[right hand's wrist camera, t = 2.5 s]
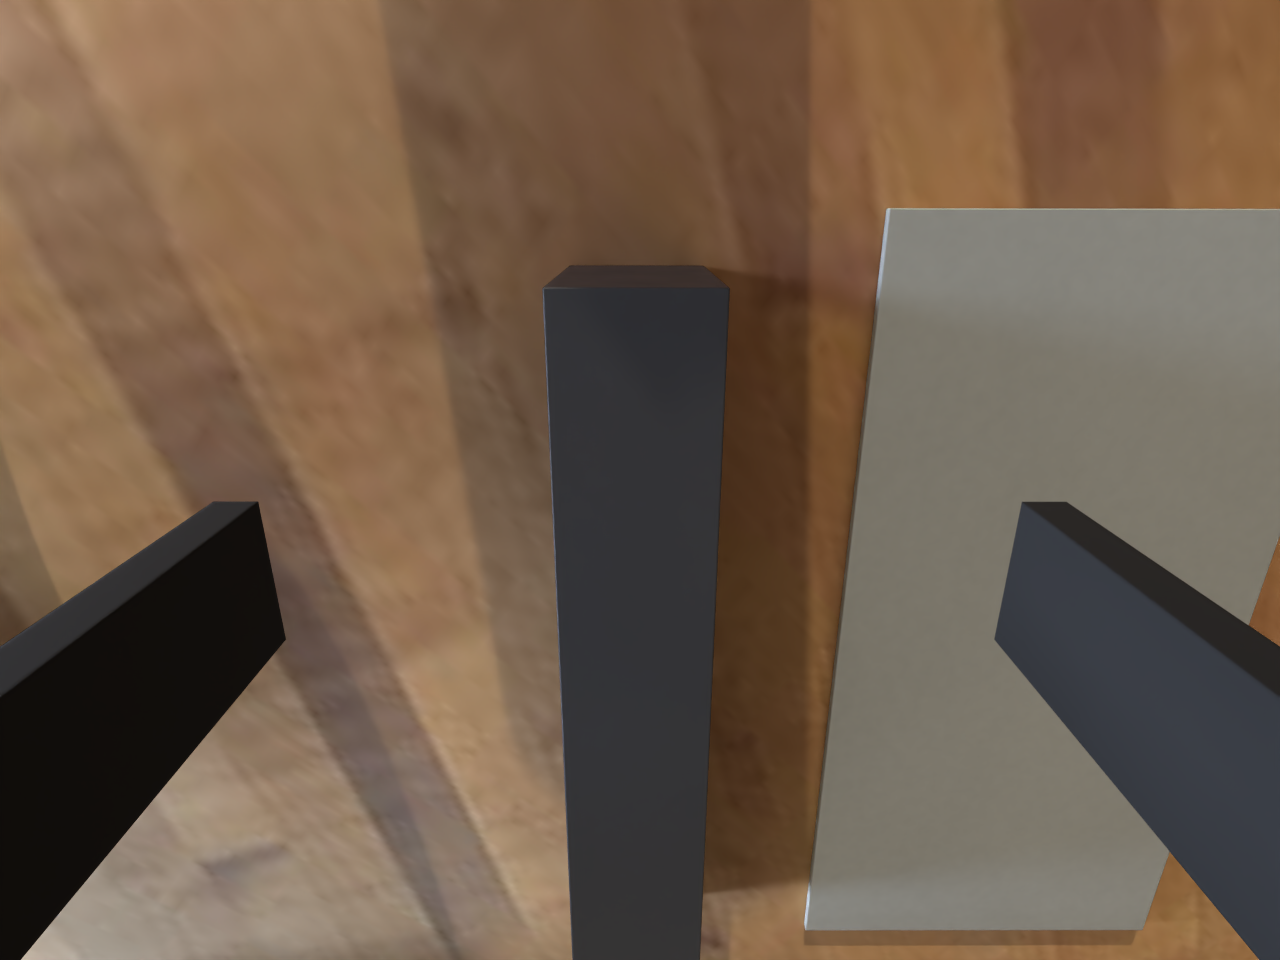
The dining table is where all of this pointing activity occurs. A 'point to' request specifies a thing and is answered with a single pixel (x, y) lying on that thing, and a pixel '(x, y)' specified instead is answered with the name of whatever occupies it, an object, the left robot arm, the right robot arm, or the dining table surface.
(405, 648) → the dining table surface
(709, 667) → the charcoal beam
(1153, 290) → the grey rubber mat
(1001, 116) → the dining table surface
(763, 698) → the dining table surface
